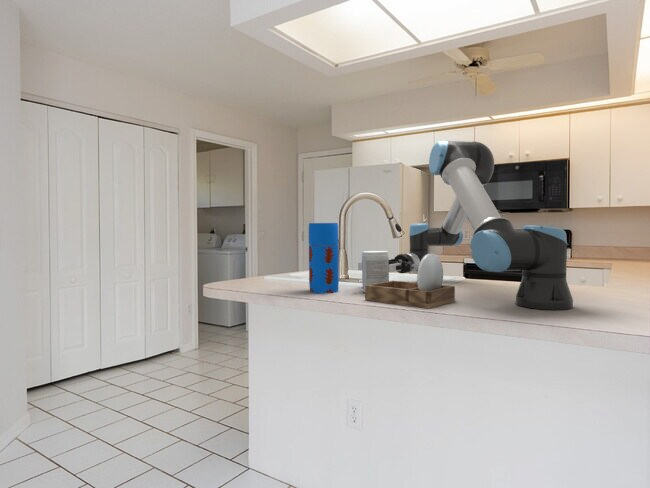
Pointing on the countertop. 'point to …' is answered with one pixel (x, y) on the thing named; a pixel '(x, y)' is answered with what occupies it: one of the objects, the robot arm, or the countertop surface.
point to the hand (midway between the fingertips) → (373, 267)
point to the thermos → (323, 257)
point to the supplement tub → (374, 267)
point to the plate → (430, 273)
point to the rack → (409, 294)
